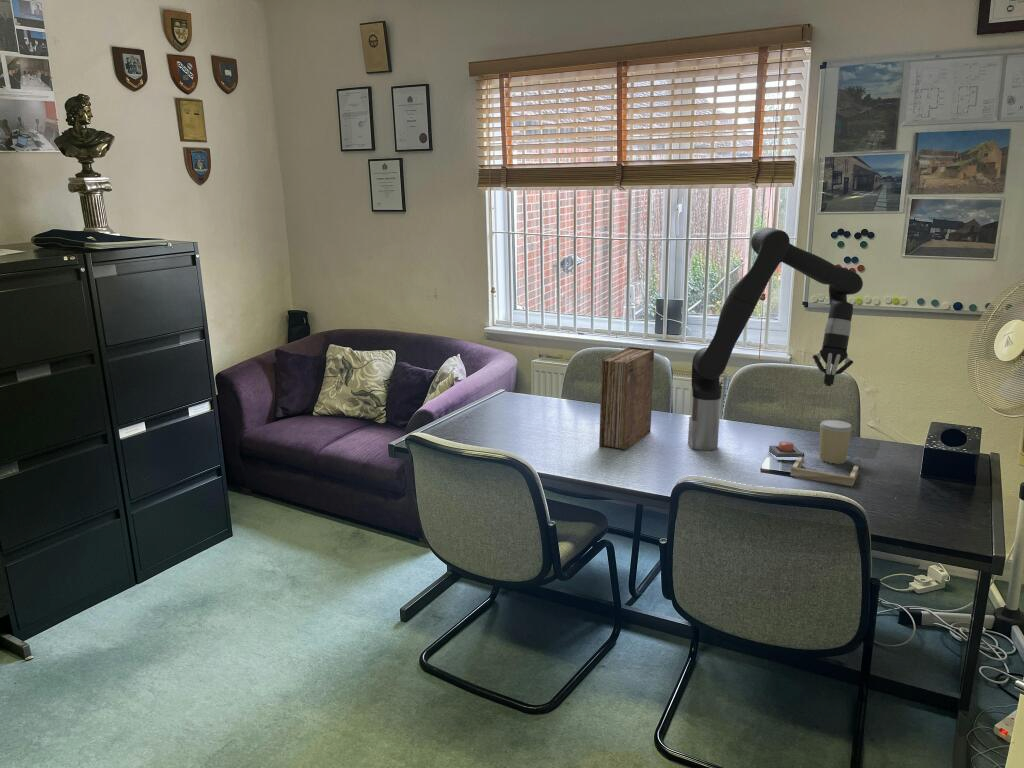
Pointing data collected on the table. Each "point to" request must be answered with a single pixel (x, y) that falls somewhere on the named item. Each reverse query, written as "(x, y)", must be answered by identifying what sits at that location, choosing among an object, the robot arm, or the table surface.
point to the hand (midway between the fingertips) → (827, 385)
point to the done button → (786, 446)
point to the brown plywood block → (626, 397)
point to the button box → (777, 453)
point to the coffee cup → (834, 441)
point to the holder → (823, 474)
